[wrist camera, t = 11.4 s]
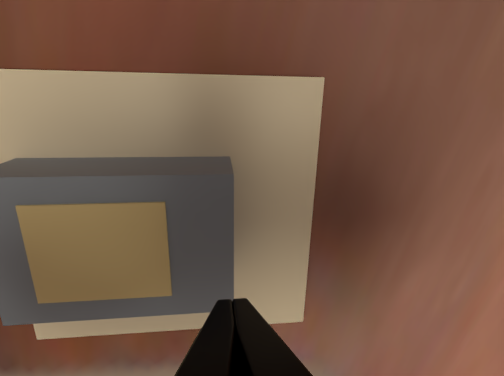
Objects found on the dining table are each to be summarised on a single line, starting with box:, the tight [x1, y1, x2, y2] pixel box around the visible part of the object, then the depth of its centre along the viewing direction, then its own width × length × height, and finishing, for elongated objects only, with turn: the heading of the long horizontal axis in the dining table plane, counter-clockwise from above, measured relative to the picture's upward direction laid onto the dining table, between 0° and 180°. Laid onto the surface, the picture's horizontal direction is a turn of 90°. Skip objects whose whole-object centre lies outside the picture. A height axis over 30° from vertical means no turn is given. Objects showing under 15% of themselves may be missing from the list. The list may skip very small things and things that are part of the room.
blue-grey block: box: [0, 156, 234, 326], centre depth 13 cm, size 3×6×9 cm
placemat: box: [0, 69, 325, 340], centre depth 15 cm, size 14×13×1 cm
